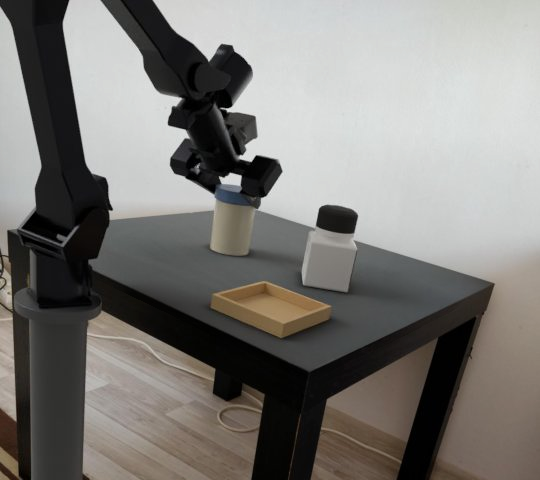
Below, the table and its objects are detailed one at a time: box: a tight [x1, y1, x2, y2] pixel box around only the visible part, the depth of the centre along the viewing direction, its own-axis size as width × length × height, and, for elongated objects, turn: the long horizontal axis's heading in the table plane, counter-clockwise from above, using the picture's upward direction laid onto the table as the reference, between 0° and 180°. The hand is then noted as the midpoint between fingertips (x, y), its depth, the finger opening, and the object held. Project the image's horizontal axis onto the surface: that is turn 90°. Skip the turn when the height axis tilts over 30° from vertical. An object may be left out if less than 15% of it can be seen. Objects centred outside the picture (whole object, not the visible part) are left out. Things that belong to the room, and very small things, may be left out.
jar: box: [209, 198, 256, 257], centre depth 99 cm, size 7×7×10 cm
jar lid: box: [213, 183, 251, 205], centre depth 97 cm, size 7×7×2 cm
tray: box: [210, 280, 332, 339], centre depth 75 cm, size 11×11×2 cm
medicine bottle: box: [301, 204, 359, 293], centre depth 90 cm, size 7×7×12 cm
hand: (240, 202), depth 99 cm, fingers closed on jar lid, 7 cm apart
